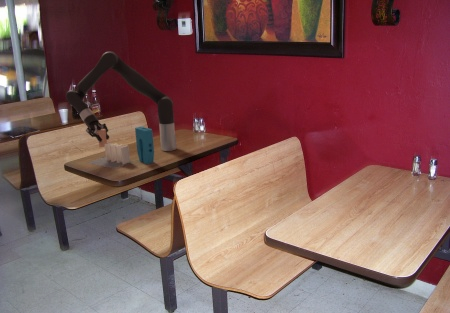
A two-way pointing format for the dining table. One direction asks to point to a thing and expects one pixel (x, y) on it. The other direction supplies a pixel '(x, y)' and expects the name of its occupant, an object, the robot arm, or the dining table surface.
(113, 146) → the domino
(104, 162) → the mat
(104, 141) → the terracotta tile
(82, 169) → the dining table surface
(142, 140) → the block
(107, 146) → the domino
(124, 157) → the domino
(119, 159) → the domino
